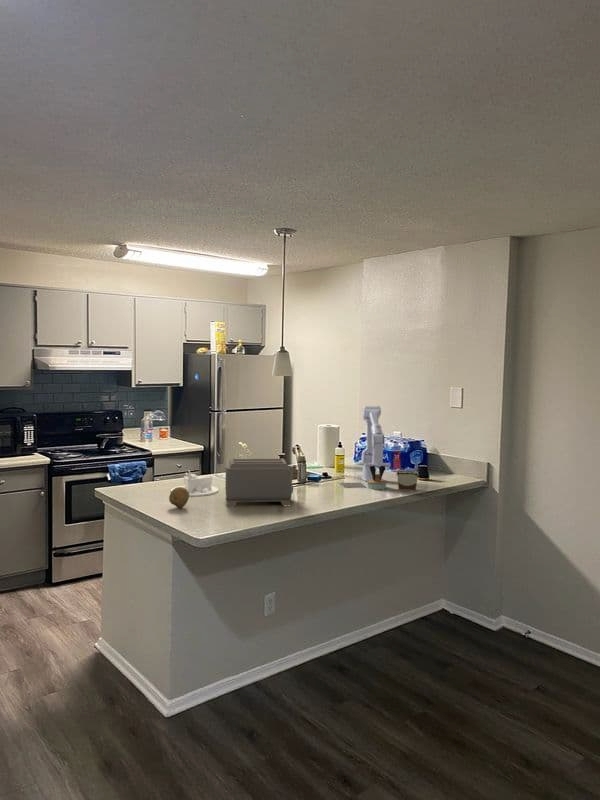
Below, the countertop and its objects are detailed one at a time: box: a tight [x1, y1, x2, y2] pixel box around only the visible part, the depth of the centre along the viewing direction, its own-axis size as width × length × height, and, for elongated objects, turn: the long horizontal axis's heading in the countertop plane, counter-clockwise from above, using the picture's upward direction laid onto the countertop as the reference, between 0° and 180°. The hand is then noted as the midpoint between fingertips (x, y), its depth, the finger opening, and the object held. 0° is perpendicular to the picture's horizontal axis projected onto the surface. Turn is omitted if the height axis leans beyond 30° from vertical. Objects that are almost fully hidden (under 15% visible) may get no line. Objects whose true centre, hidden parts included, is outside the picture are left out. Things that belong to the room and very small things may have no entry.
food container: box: [396, 469, 420, 491], centre depth 346 cm, size 12×6×10 cm, turn 84°
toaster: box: [224, 458, 298, 508], centre depth 307 cm, size 19×35×20 cm, turn 98°
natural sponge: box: [168, 486, 190, 509], centre depth 292 cm, size 9×9×10 cm
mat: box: [339, 482, 367, 488], centre depth 352 cm, size 12×12×1 cm
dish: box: [170, 469, 219, 497], centre depth 329 cm, size 25×25×11 cm
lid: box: [366, 473, 388, 485], centre depth 347 cm, size 11×11×4 cm
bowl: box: [367, 483, 387, 490], centre depth 347 cm, size 10×10×3 cm
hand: (377, 479), depth 347 cm, fingers closed on lid, 3 cm apart
